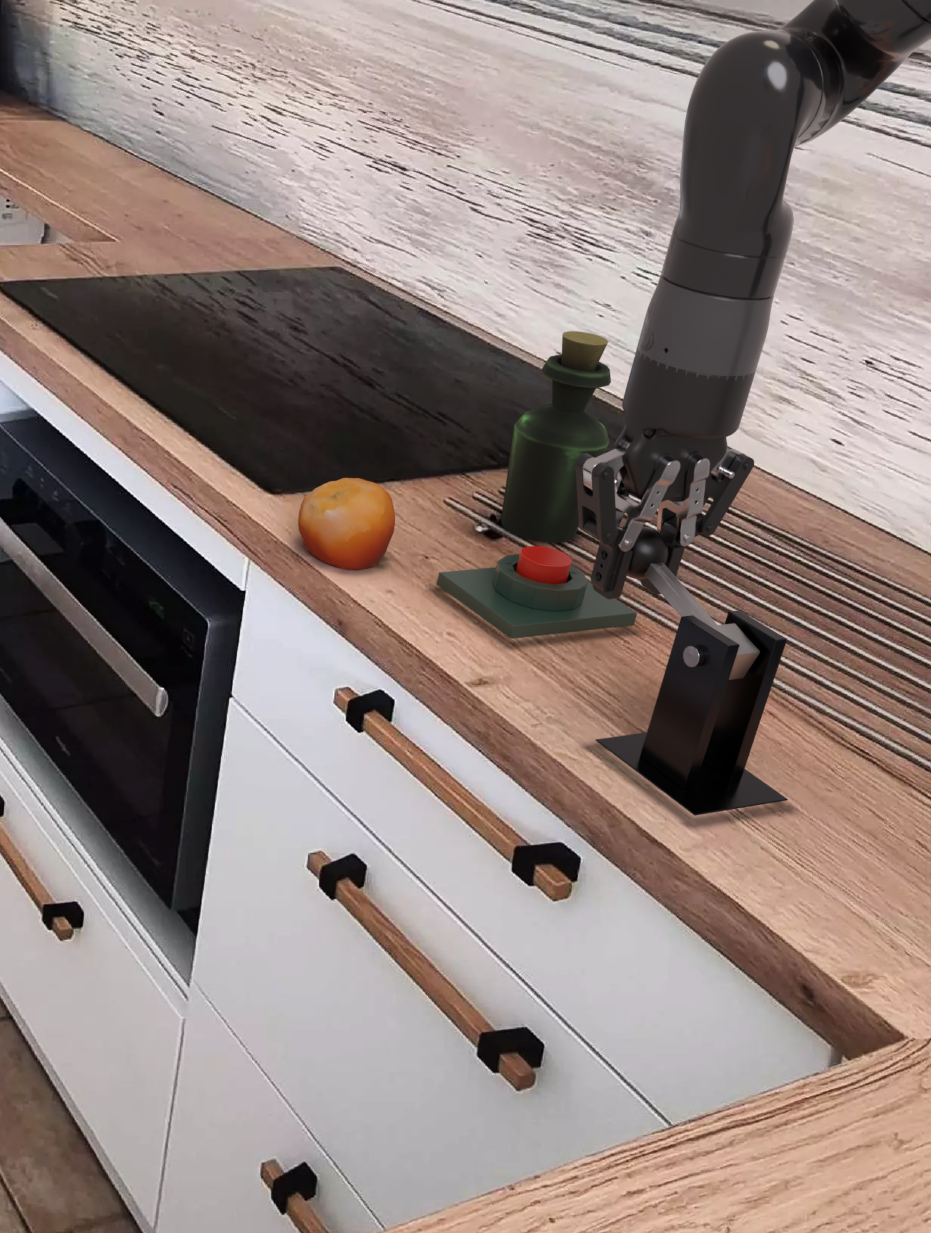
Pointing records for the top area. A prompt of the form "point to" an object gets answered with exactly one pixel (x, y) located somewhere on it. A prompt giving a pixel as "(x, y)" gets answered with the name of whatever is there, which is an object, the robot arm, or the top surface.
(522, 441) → the potion bottle
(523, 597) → the button box
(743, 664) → the switch lever
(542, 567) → the button
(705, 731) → the switch bracket
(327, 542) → the fruit
